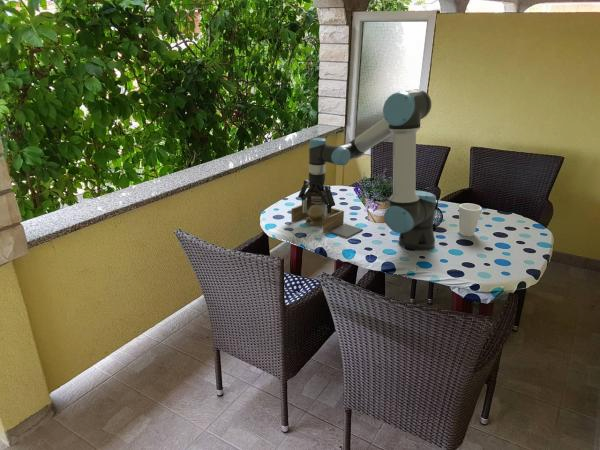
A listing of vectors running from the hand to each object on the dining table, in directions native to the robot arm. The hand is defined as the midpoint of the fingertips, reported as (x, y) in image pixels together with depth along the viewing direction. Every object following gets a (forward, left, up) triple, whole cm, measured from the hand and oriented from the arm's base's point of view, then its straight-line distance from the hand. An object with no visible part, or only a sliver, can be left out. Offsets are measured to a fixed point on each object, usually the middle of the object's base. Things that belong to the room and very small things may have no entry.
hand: (315, 215), depth 215 cm
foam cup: (-58, -38, -4) cm, 69 cm away
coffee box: (0, 0, -4) cm, 4 cm away
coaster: (-16, -2, -4) cm, 17 cm away
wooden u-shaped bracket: (0, -1, -4) cm, 4 cm away
